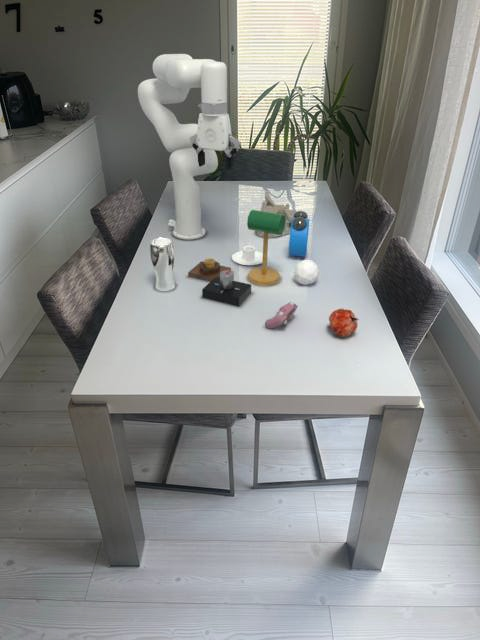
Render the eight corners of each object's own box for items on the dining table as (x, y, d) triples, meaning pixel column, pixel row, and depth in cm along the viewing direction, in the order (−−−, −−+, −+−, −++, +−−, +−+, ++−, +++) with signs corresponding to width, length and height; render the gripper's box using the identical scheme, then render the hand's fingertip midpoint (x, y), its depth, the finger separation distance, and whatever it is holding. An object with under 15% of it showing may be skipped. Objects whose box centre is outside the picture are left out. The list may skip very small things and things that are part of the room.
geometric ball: (309, 292, 146) (317, 282, 138) (287, 281, 146) (293, 270, 139) (318, 274, 149) (326, 262, 141) (296, 263, 149) (303, 251, 141)
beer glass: (158, 294, 139) (153, 248, 130) (150, 284, 144) (146, 239, 136) (179, 289, 141) (176, 243, 133) (171, 279, 147) (168, 235, 138)
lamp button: (202, 267, 147) (201, 262, 146) (207, 262, 150) (207, 257, 149) (212, 269, 146) (211, 264, 145) (217, 264, 149) (217, 259, 148)
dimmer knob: (230, 291, 135) (230, 276, 132) (218, 288, 136) (217, 273, 133) (235, 285, 138) (235, 270, 135) (223, 282, 139) (223, 268, 136)
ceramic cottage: (251, 235, 177) (255, 197, 169) (260, 222, 191) (264, 186, 183) (291, 242, 174) (297, 203, 167) (297, 228, 188) (303, 191, 180)
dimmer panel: (202, 298, 137) (202, 288, 135) (216, 285, 144) (215, 276, 142) (238, 307, 133) (239, 297, 131) (251, 293, 140) (251, 284, 138)
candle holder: (248, 249, 167) (249, 238, 164) (273, 259, 160) (274, 248, 157) (224, 259, 160) (224, 247, 157) (249, 270, 153) (249, 258, 150)
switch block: (188, 276, 148) (187, 267, 146) (201, 265, 155) (201, 256, 153) (218, 284, 144) (218, 274, 143) (231, 272, 151) (231, 262, 149)
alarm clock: (305, 263, 157) (309, 221, 149) (287, 261, 158) (290, 220, 150) (306, 247, 168) (310, 208, 160) (290, 246, 169) (292, 207, 161)
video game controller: (275, 336, 123) (287, 320, 118) (262, 325, 124) (273, 309, 119) (291, 319, 130) (303, 304, 125) (279, 309, 131) (290, 293, 126)
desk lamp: (243, 282, 146) (244, 215, 134) (255, 269, 153) (257, 205, 141) (272, 288, 142) (276, 220, 130) (283, 275, 150) (288, 210, 138)
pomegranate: (322, 341, 123) (348, 336, 114) (316, 314, 123) (341, 308, 114) (343, 335, 127) (369, 330, 118) (336, 310, 127) (362, 303, 118)
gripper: (182, 108, 137) (185, 166, 147) (235, 113, 131) (235, 173, 141) (195, 105, 143) (197, 161, 152) (245, 109, 137) (244, 167, 146)
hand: (215, 167), depth 146 cm, fingers open, 9 cm apart
